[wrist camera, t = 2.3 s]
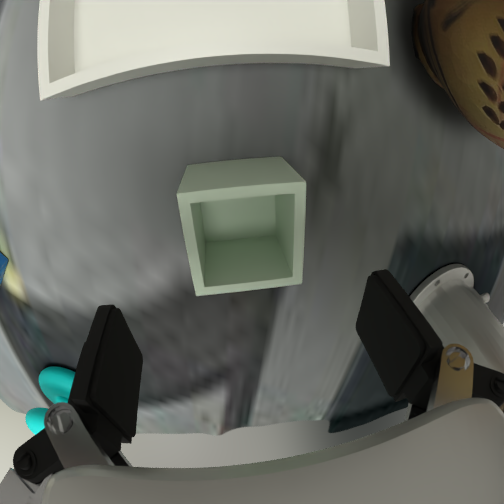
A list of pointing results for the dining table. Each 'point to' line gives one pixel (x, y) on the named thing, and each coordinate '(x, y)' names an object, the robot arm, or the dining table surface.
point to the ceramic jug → (465, 57)
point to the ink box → (2, 265)
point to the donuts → (50, 393)
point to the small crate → (243, 224)
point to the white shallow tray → (199, 37)
